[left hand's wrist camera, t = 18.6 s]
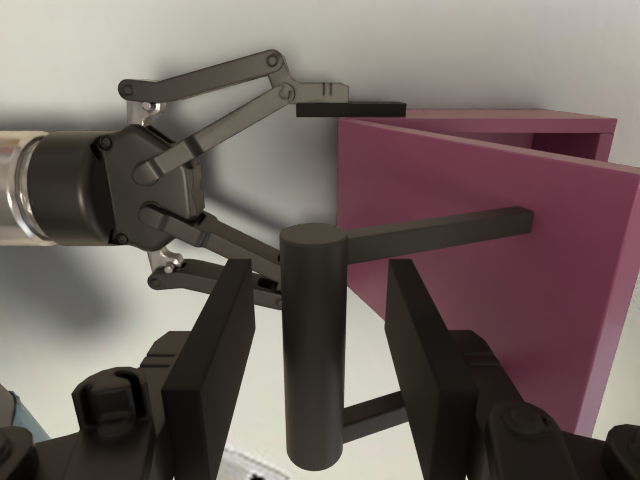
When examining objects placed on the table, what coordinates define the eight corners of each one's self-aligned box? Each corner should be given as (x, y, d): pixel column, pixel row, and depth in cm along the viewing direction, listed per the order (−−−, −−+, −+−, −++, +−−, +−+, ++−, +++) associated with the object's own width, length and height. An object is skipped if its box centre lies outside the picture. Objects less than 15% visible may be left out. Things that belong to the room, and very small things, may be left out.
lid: (668, 172, 10) (335, 213, 7) (581, 474, 13) (330, 596, 10) (353, 118, 24) (195, 124, 21) (349, 273, 27) (212, 298, 24)
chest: (542, 109, 32) (618, 118, 24) (522, 227, 36) (581, 271, 28) (338, 108, 32) (345, 118, 24) (336, 227, 36) (342, 271, 28)
